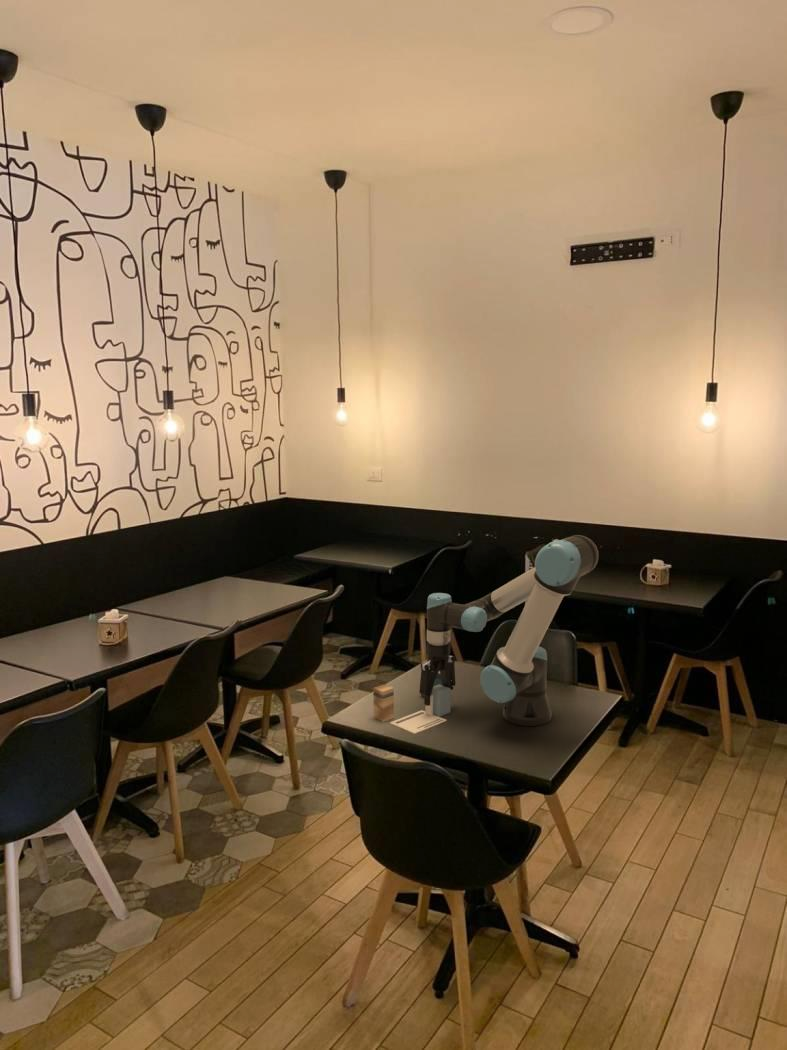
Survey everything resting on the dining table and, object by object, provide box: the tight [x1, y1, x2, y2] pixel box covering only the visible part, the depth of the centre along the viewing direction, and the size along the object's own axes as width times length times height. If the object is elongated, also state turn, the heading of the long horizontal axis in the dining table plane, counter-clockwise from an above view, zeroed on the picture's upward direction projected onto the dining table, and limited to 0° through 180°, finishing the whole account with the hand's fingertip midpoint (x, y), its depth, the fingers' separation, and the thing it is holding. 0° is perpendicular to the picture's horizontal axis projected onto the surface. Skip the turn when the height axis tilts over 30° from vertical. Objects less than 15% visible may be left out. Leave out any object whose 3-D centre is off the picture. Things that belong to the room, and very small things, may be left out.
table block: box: [372, 684, 395, 723], centre depth 249 cm, size 4×4×10 cm
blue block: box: [431, 685, 451, 717], centre depth 253 cm, size 5×5×8 cm
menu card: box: [389, 709, 448, 735], centre depth 246 cm, size 11×14×1 cm
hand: (437, 711), depth 253 cm, fingers open, 7 cm apart
